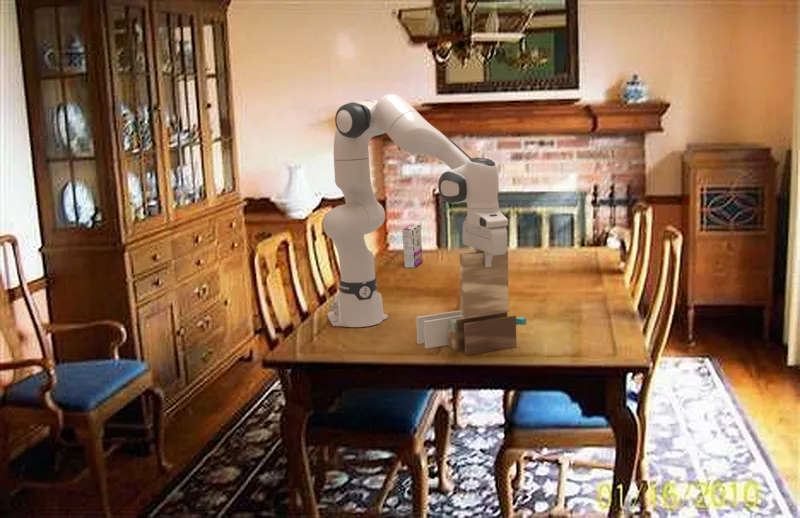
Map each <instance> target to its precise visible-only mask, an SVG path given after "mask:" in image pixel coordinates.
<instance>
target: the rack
mask: <svg viewBox="0 0 800 518" xmlns="http://www.w3.org/2000/svg"><path fill="white" fill-rule="evenodd" d="M516 319H517V316H516V315H508V312H505V313H498V314H492V315H485V316H479V317H472V318H466V319H465V318H463V319H456V332H457V350H456V351H457V352H458V351H460V352H461V351H464V355H465V356H471V355H477V354H482V353H489V352H495V351H499V350H504V349H505V350H506V349H511V347H512V348H517V324H516Z"/></svg>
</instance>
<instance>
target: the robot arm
mask: <svg viewBox="0 0 800 518" xmlns="http://www.w3.org/2000/svg"><path fill="white" fill-rule="evenodd" d="M334 117H335V118H334V122H335V127H336V130H335V132H334V138H333V139H334V140H333V167H334V168H333V169H334V182H335V185H336V187H337V188H338V189H340V191H341V192H342V195H343V197H344V201H345V204H339V205H337V206H334V207H333V208H332V209H330V210H329V211H327V212H326V214H325V215H324V216H323V220H322V227H323V231H324V233H325V234H326V236H327V237H328V238H329V239H331V240H332V242H333V244H334V245H335V248H336V252H337V255H338V259H339V270H340V271H339V272H340V279H339V284H338V290H339V291H338V292H337V294H336V296H335V297H334V298H333V301H332V302H330V303H329V306H330V310H332V311H329V312H327V313H326V314H327V316H326V317H327V318H328V320H329V321H330V324H331V325H332V327H348V328H362V327H371V326H375V325H379V324H381V323H383V321H384V320H387V319H388V314H386V313H384V307H383V305H384V304H383V298H382V294H381V292H378V281H377V277H376V267H375V254H374V253H373V252H372V251H371V250H369V248H368V246H367V243H366V240H365V236H366V235H368V234H371V233H374V232H375V231H376V230H378V229H379V228H380V227H381V226H383V224H384V222H385V221H386V220H385V219H386V212H385V209H384V207H383V206H382V204H381V203H380V202H379V201H378V200H377V198H376V196H375V192H374V189H373V187H372V180H371V169H370V168H371V167H370V153H369V143H370V141H371V140H372V138H373V137H374V138H377V139H378V138H381V137H383V136H386V135H387V136H388V137H389V138H390V140H391V141H392V142H393V143H394V145H396V146H397V147H398V148H400V149H401V150H403V151H404V152H406V153H408V154H418V155H425V156H429V157H430V156H431V157H433V158H436V159H439V160H441V161H442V162H443V163H444V164H446V165H447V166H448V167H449V168H450V169H449V170H447V171H445V172H443V173H441V175H440V177H439V180H438V183H437V189H438V193H439V195H440V197H441V198H442V200H443V201H444V202H446V203H448V204H454V205H455V204H460V203H466V205H467V206H466V207H467V209H466V216H465V220H464V221H463V223H462V231H461V232H462V237H461V240H462V243H463V245H464V246H468V247H470V248H473V250H474V251H473V252H481V251H484V252H485V255H486V256H485V260H483V263H484V264H483V266H485V267H491V261H492V258H493V255H502V254H505V253H506V251H507V250H508V229H507V228H506V227H507V226H508V225H509V220H508V218H507V217H506V216H505V215H504V214H503V213H502V211H501V210H500V204H499V200H498V194H499V191H500V188H499V187H500V185H499V181H500V180H499V172H498V167H497V164H496V162H495V161H493V160H492V159H489V158H487V157H471V156H470V155H469V154H467V153H466V152H465V151H464V150H463V149H462V148H461V147H460V146H459V145H457V144H456V142H454V141H453V140H452V139H451V138H450V137H448V136H447V135H445V134H444V133H443V132H441V130H439V129H437V128H436V127H435V126H433V125H432V124H431V123H429V122H428V121H427V120H426V119H425V117H423V116H422V115H421V114H420V113H419V112H418V111H417V110H416V109H415V107H413V106H412V105H411V104H410V103H409V102H408V101H406V100H405V99H404V98H402V97H401V96H400V95H398V94H395V93H387V94H385V95H382V97H380V98H379V99H378V100H377V99H367V100H366V99H365V100H362V101H356V102H353V101H351V102H348V103H347V102H346V104H343V105H341V106H340V107H338V109H337V110H336V113H335V116H334Z"/></svg>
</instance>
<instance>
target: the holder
mask: <svg viewBox="0 0 800 518" xmlns="http://www.w3.org/2000/svg"><path fill="white" fill-rule="evenodd" d="M456 318H463V317H461V309H460V310H459V309H458V310H453V311H447V312H440V313H434V314H427V315H422V316H421V315H419V316H416V317H415V320H416V340H417V341H416V344H418V345H423V344H424V348H425V349H426V350H427V349H433V348H437V347H445V346H449V344H448V330H450V319H456Z"/></svg>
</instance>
